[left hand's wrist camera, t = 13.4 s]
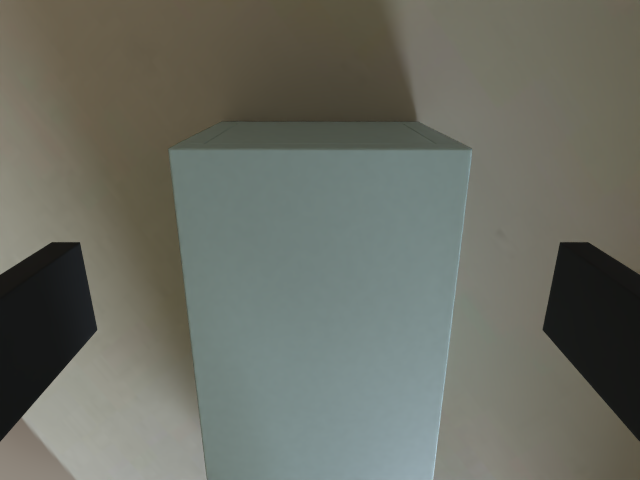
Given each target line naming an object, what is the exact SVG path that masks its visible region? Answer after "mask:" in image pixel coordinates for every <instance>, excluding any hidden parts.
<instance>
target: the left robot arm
mask: <svg viewBox="0 0 640 480" xmlns="http://www.w3.org/2000/svg"><path fill="white" fill-rule="evenodd" d="M96 331H97V326H96V321H95V316H94V311H93V306H92V301H91V296H90V291H89V286H88V281H87V276H86V271H85V266H84V261H83V256H82V251H81V246H80V242H52V243H50V244H48V245H47V246H45V247H44V248H42V249H40V250H39V251H37V252H36V253H34V254H33V255H31V256H29V257H28V258H26V259H25V260H23V261H21V262H20V263H18V264H17V265H15V266H13V267H12V268H10V269H9V270H7V271H6V272H4V273H2V274H1V275H0V441H1V440H2V439H3V438H4V437H5V436H6V434H7V433H8V432H9V431H10V430H11V429H12V427H13V426H14V425H15V424H16V423H17V422H18V421H19V419H20V418H21V417H22V416H23V415H24V414H25V413H26V411H27V410H28V409H29V408H30V407H31V406H32V404H33V403H34V402H35V401H36V400H37V399H38V398H39V396H40V395H41V394H42V393H43V392H44V391H45V390H46V388H47V387H48V386H49V385H50V384H51V383H52V381H53V380H54V379H55V378H56V377H57V376H58V375H59V373H60V372H61V371H62V370H63V369H64V368H65V367H66V365H67V364H68V363H69V362H70V361H71V360H72V358H73V357H74V356H75V355H76V354H77V353H78V352H79V350H80V349H81V348H82V347H83V346H84V345H85V344H86V342H87V341H88V340H89V339H90V338H91V337H92V335H93V334H94V333H95V332H96ZM543 331H544V332H545V333H546V334H547V335H548V337H549V338H550V339H551V340H552V341H553V342H554V344H555V345H556V346H557V347H558V348H559V349H560V350H561V352H562V353H563V354H564V355H565V356H566V357H567V358H568V360H569V361H570V362H571V363H572V364H573V365H574V367H575V368H576V369H577V370H578V371H579V372H580V373H581V375H582V376H583V377H584V378H585V379H586V380H587V381H588V383H589V384H590V385H591V386H592V387H593V388H594V390H595V391H596V392H597V393H598V394H599V395H600V396H601V398H602V399H603V400H604V401H605V402H606V403H607V404H608V406H609V407H610V408H611V409H612V410H613V411H614V413H615V414H616V415H617V416H618V417H619V418H620V419H621V421H622V422H623V423H624V424H625V425H626V426H627V427H628V429H629V430H630V431H631V432H632V433H633V434H634V436H635V437H636V438H637V439H638V440H639V441H640V275H639V274H638V273H636V272H634V271H633V270H631V269H630V268H628V267H627V266H625V265H623V264H622V263H620V262H619V261H617V260H615V259H614V258H612V257H611V256H609V255H607V254H606V253H604V252H603V251H601V250H599V249H598V248H596V247H595V246H593V245H592V244H590V243H588V242H560V246H559V251H558V256H557V261H556V266H555V271H554V276H553V281H552V286H551V291H550V296H549V301H548V306H547V311H546V316H545V321H544V326H543Z"/></svg>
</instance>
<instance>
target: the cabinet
mask: <svg viewBox="0 0 640 480" xmlns="http://www.w3.org/2000/svg"><path fill="white" fill-rule="evenodd" d="M168 152H169V160H170V169H171V177H172V186H173V194H174V203H175V211H176V220H177V228H178V237H179V245H180V254H181V262H182V271H183V280H184V288H185V297H186V305H187V314H188V322H189V331H190V339H191V348H192V356H193V365H194V373H195V382H196V390H197V399H198V408H199V416H200V425H201V433H202V442H203V450H204V459H205V467H206V476H207V480H433V476H434V467H435V459H436V451H437V442H438V434H439V425H440V417H441V408H442V400H443V392H444V383H445V375H446V366H447V358H448V350H449V341H450V333H451V324H452V316H453V308H454V299H455V291H456V282H457V274H458V265H459V257H460V249H461V240H462V232H463V223H464V215H465V207H466V198H467V190H468V181H469V173H470V165H471V156H472V148H470V147H468V146H466V145H464V144H462V143H460V142H458V141H456V140H454V139H452V138H450V137H448V136H446V135H444V134H442V133H440V132H438V131H436V130H434V129H432V128H430V127H428V126H426V125H424V124H422V123H420V122H220V123H218V124H216V125H214V126H212V127H210V128H208V129H206V130H204V131H202V132H200V133H198V134H196V135H194V136H192V137H190V138H188V139H186V140H184V141H182V142H180V143H178V144H176V145H174V146H172V147H170V148H169V149H168Z"/></svg>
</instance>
